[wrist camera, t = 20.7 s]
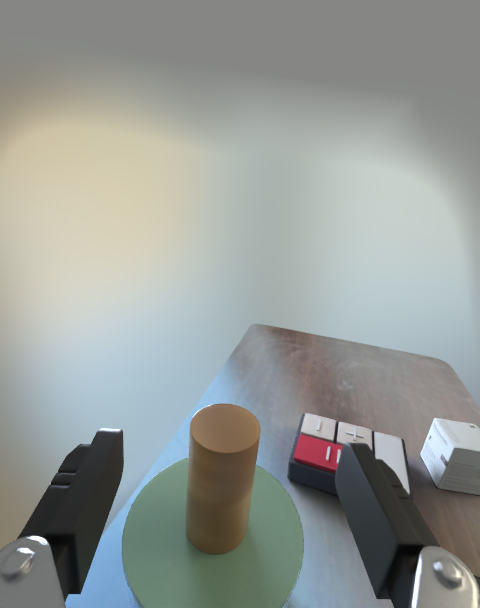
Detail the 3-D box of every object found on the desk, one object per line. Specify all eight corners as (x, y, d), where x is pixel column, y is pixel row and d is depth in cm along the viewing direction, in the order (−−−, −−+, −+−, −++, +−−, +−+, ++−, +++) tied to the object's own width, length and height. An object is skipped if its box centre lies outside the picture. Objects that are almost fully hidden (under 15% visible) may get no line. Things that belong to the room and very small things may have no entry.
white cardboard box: (419, 455, 49) (432, 416, 47) (460, 461, 49) (476, 422, 46) (437, 489, 43) (454, 447, 41) (484, 497, 43) (503, 454, 40)
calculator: (303, 408, 51) (405, 434, 47) (300, 430, 53) (399, 457, 48) (288, 457, 42) (416, 496, 37) (286, 482, 43) (408, 523, 38)
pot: (135, 791, 20) (131, 713, 17) (120, 535, 34) (116, 467, 31) (327, 672, 26) (351, 598, 22) (245, 496, 40) (253, 435, 37)
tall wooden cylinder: (194, 565, 24) (200, 460, 20) (179, 503, 28) (182, 409, 25) (257, 541, 26) (272, 443, 22) (234, 487, 30) (244, 398, 27)
